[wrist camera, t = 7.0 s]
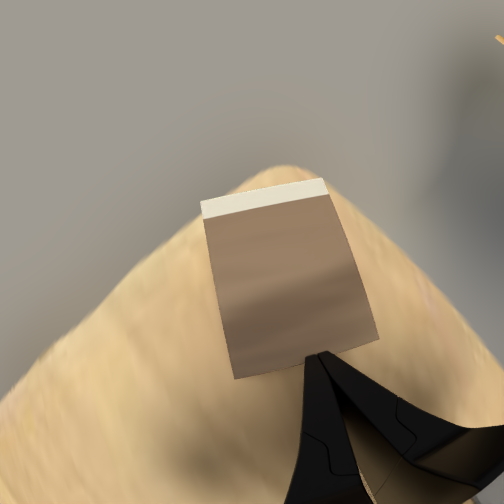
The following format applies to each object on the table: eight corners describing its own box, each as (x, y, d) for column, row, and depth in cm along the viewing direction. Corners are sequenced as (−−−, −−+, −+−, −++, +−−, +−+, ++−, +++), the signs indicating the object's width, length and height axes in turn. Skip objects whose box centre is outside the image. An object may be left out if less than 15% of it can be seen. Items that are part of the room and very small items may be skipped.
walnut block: (379, 339, 10) (321, 177, 13) (234, 379, 10) (200, 201, 13) (340, 348, 16) (305, 231, 19) (243, 373, 15) (217, 250, 18)
